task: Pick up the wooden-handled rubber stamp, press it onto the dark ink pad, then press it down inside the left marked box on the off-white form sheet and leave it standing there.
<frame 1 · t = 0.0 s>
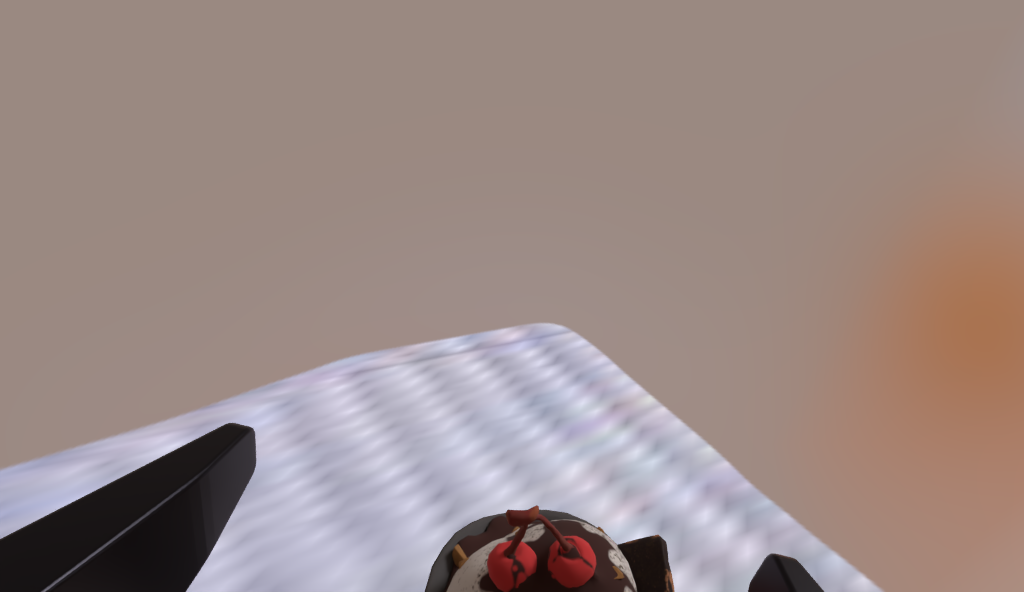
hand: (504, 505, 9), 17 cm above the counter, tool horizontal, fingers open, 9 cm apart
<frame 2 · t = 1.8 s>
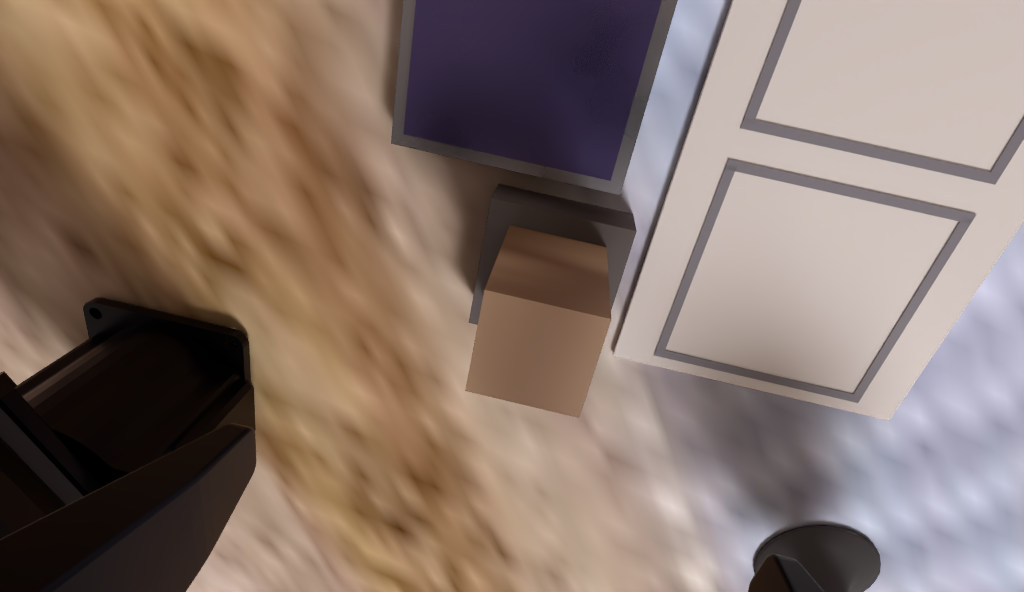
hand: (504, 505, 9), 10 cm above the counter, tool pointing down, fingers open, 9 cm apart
form sheet: (855, 169, 16), on the counter
sundae: (812, 560, 24), on the counter
stamp: (550, 259, 19), on the counter
ink pad: (535, 21, 15), on the counter
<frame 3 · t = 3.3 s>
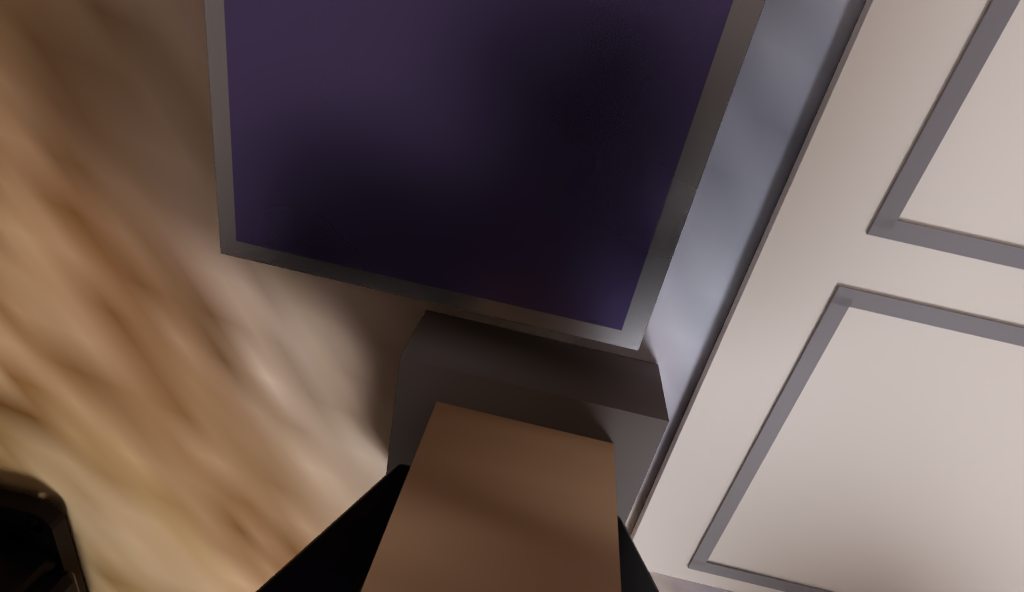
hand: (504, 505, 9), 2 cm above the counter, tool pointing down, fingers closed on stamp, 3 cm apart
stamp: (518, 426, 11), on the counter, touching gripper
ink pad: (477, 32, 8), on the counter
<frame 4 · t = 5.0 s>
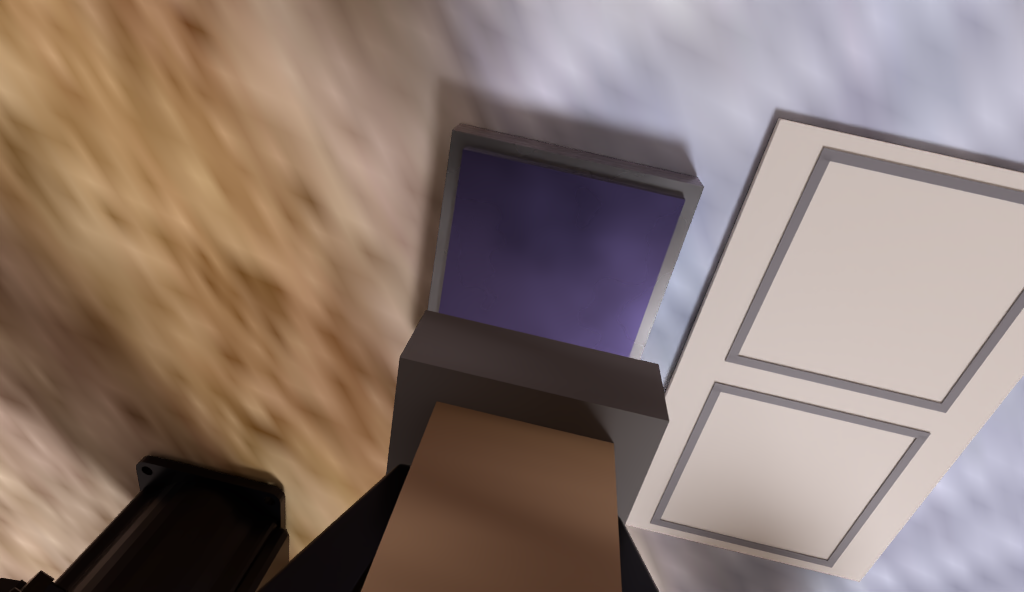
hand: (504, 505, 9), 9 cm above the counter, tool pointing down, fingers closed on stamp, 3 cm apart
form sheet: (825, 393, 18), on the counter
stamp: (518, 426, 11), point 7 cm above the counter, touching gripper
ink pad: (547, 272, 18), on the counter
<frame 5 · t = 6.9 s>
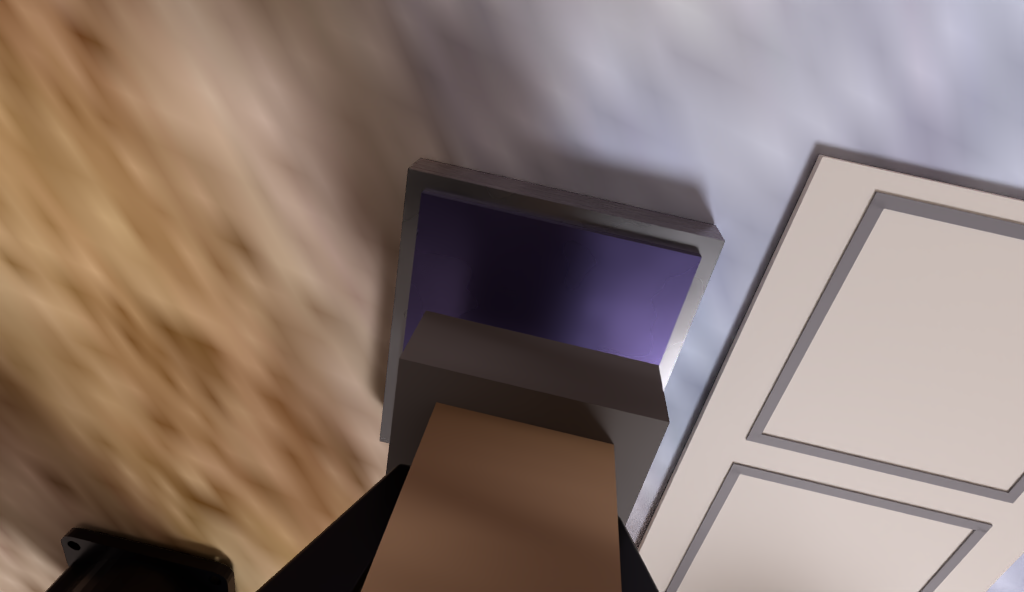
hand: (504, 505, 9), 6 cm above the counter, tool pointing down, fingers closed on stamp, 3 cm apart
form sheet: (866, 476, 15), on the counter
stamp: (518, 427, 11), point 4 cm above the counter, touching gripper
ink pad: (531, 334, 15), on the counter
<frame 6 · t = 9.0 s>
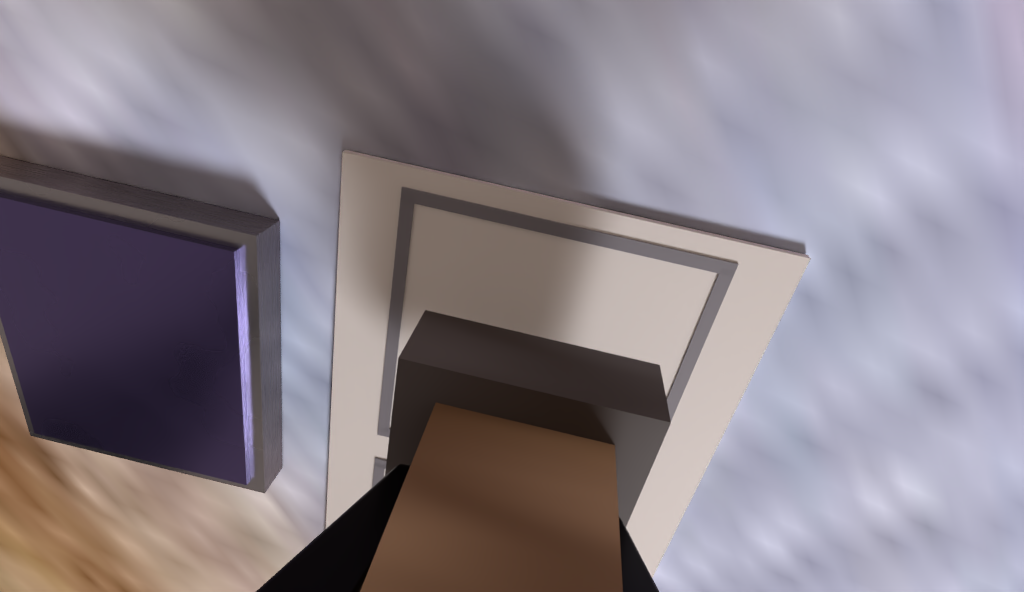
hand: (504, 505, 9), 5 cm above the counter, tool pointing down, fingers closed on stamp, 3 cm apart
form sheet: (505, 471, 15), on the counter
stamp: (518, 427, 11), point 3 cm above the counter, touching gripper
ink pad: (155, 329, 15), on the counter
when the fingers open (2 cm above the counter, at t = 10.6 s): stamp stays where it is, resting on form sheet.
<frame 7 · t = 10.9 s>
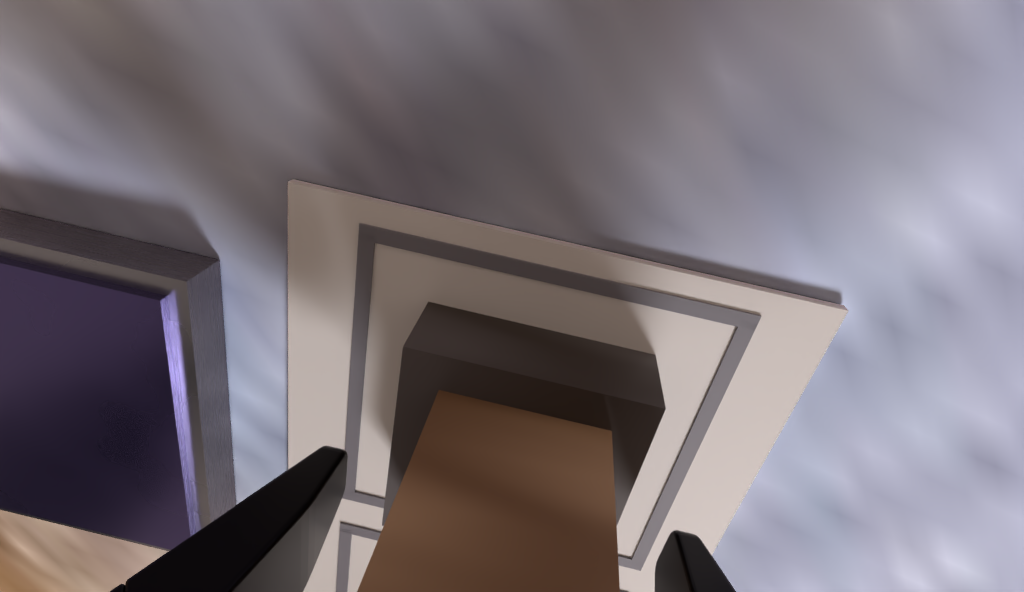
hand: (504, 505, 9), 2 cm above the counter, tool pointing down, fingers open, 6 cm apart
form sheet: (488, 537, 13), on the counter
stamp: (518, 416, 11), resting on form sheet
ink pad: (85, 379, 13), on the counter
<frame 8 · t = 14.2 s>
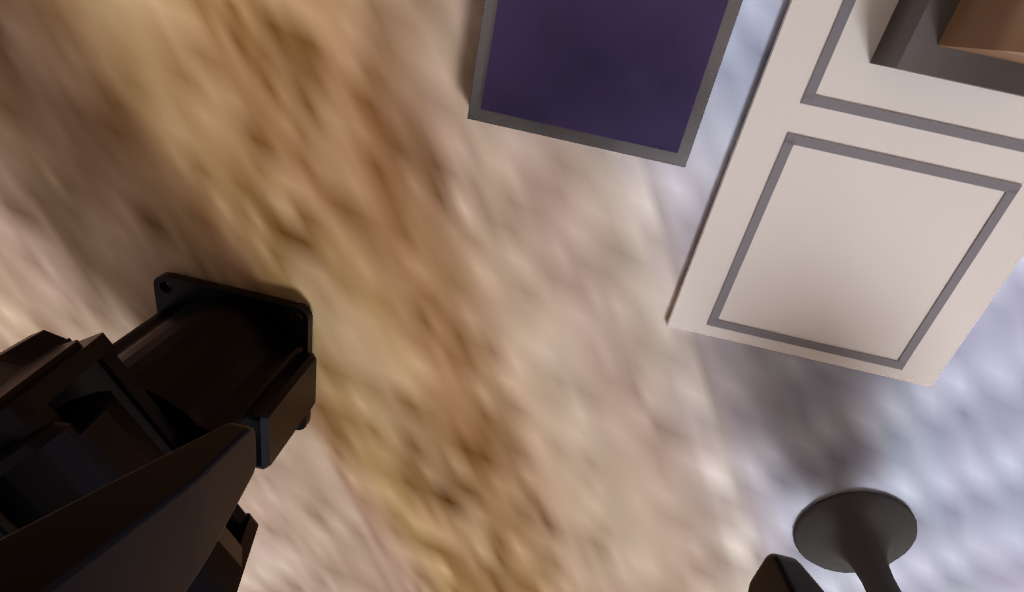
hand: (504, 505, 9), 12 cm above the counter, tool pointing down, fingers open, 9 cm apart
form sheet: (908, 142, 17), on the counter
sundae: (850, 527, 25), on the counter
ink pad: (609, 1, 16), on the counter
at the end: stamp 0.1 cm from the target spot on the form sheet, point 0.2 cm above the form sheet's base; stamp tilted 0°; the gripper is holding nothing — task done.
